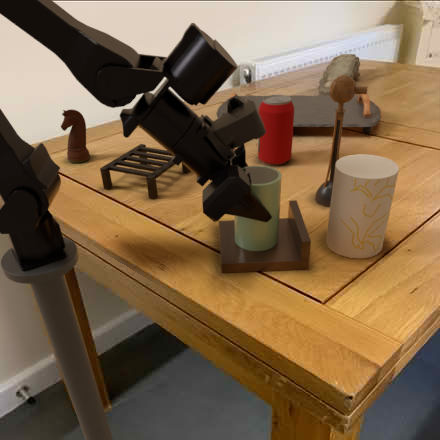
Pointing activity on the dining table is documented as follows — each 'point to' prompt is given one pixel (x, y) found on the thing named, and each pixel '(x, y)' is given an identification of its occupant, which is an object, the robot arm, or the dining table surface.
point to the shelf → (272, 258)
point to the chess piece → (75, 136)
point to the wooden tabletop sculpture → (337, 130)
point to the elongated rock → (339, 71)
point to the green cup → (270, 197)
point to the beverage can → (276, 129)
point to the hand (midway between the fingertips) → (266, 207)
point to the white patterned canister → (360, 204)
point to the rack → (141, 166)
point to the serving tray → (325, 111)
